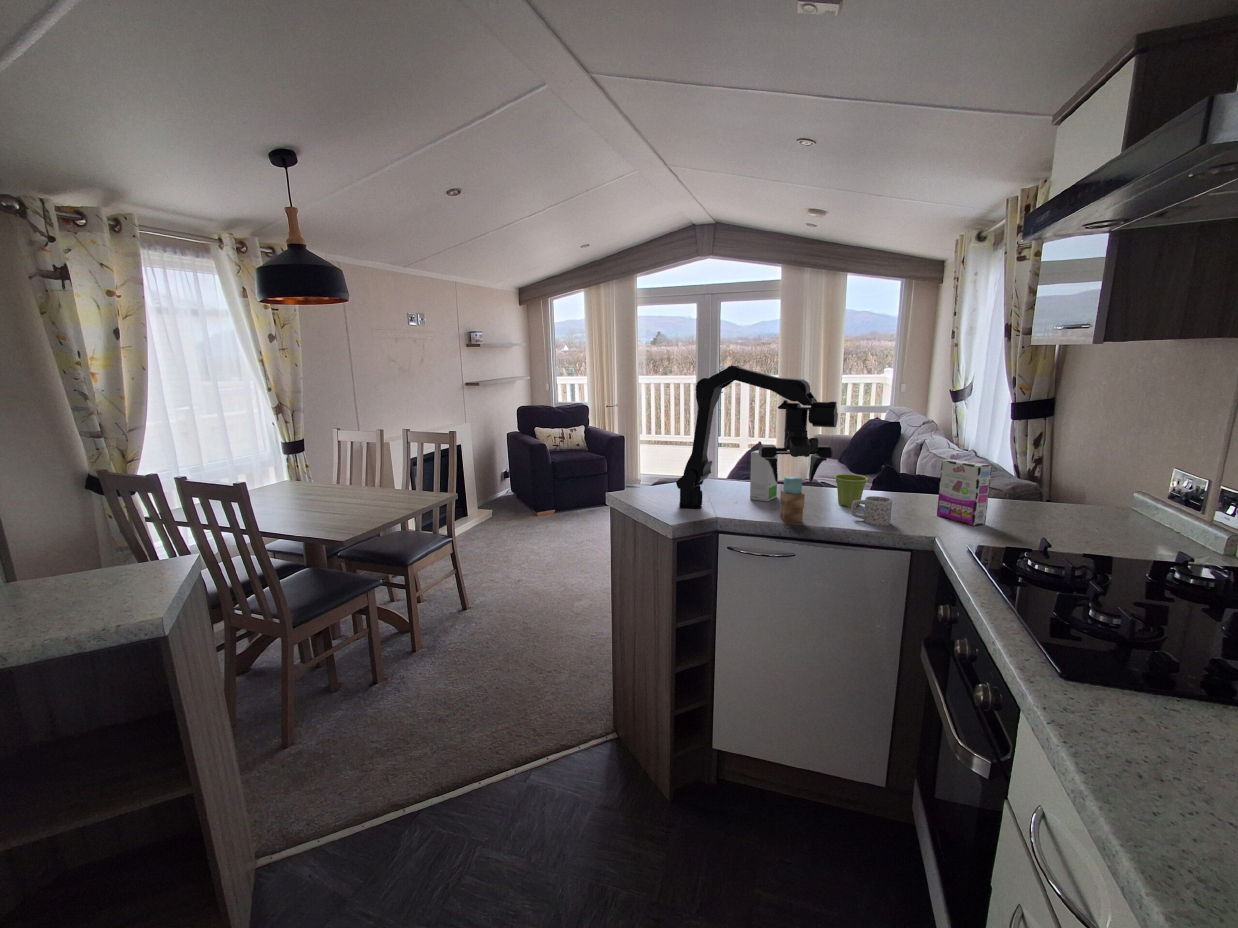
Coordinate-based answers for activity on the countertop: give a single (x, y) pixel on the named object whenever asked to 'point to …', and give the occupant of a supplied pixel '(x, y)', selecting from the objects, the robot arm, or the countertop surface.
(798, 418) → the robot arm
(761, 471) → the skincare box
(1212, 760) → the countertop surface
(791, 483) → the teal block
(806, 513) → the countertop surface
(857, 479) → the plant pot
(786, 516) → the tower base
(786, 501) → the tan wooden block
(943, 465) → the candy bar box
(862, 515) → the mug
